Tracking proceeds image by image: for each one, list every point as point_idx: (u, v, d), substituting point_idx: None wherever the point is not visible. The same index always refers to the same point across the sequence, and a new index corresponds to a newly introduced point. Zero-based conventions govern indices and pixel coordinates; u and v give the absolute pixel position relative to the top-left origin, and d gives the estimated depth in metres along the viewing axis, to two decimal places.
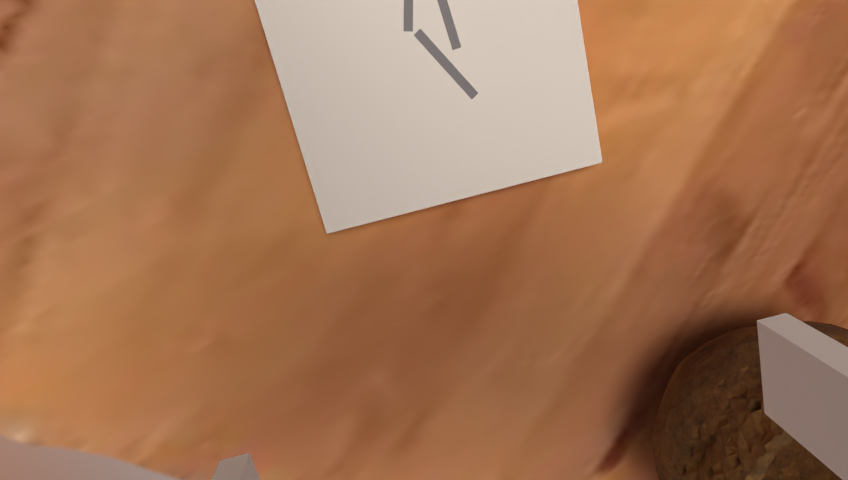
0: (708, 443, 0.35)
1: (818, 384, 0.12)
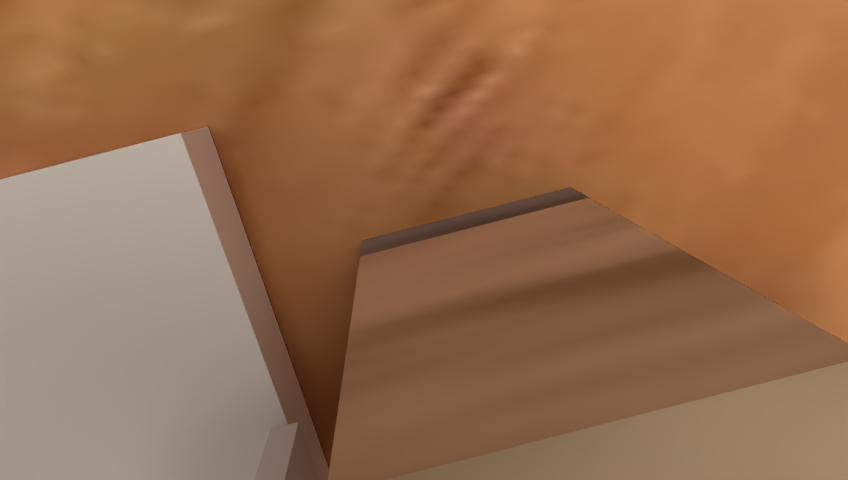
0: None
1: None
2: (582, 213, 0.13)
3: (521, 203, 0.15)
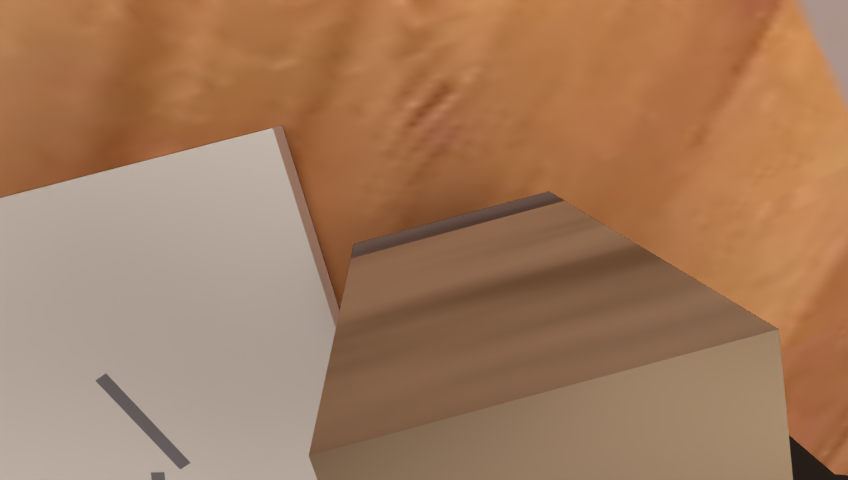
0: None
1: None
2: (556, 214, 0.14)
3: (502, 207, 0.16)
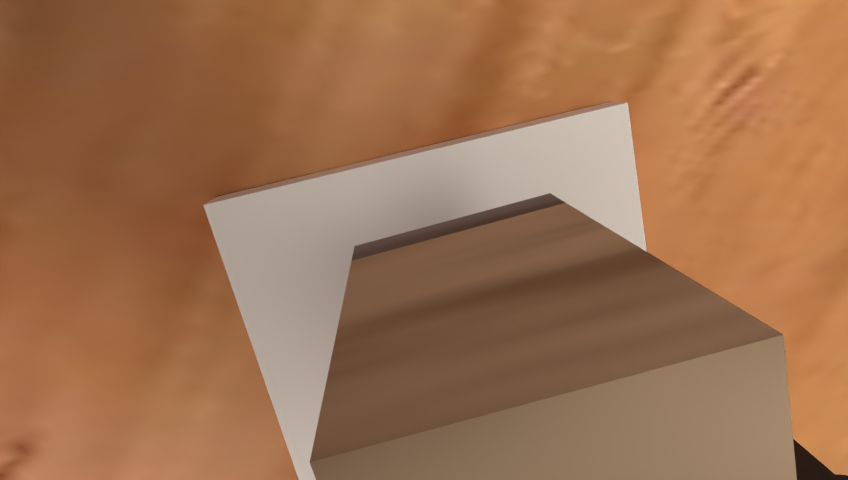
0: None
1: None
2: (557, 216, 0.14)
3: (503, 209, 0.16)
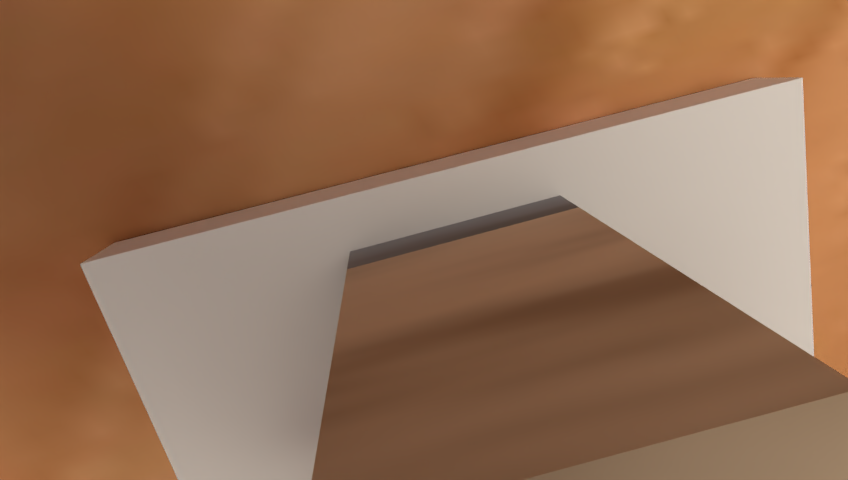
0: None
1: None
2: (571, 223, 0.13)
3: (510, 212, 0.15)
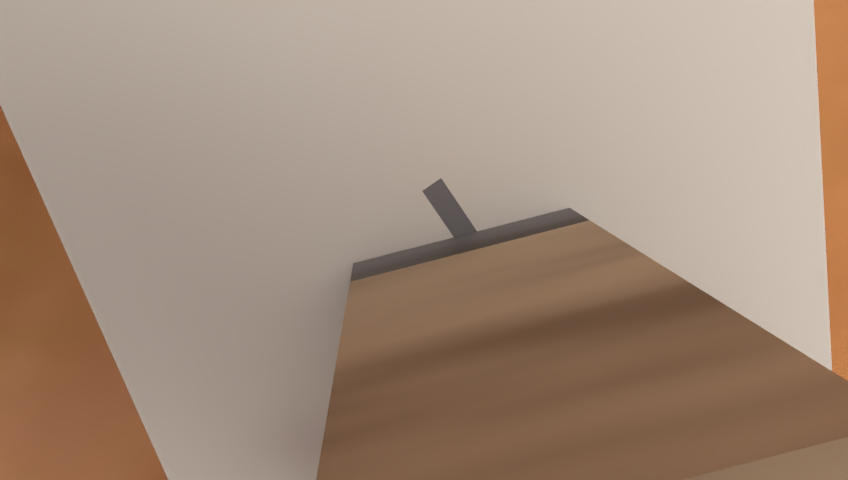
0: None
1: None
2: (582, 237, 0.12)
3: (519, 225, 0.14)
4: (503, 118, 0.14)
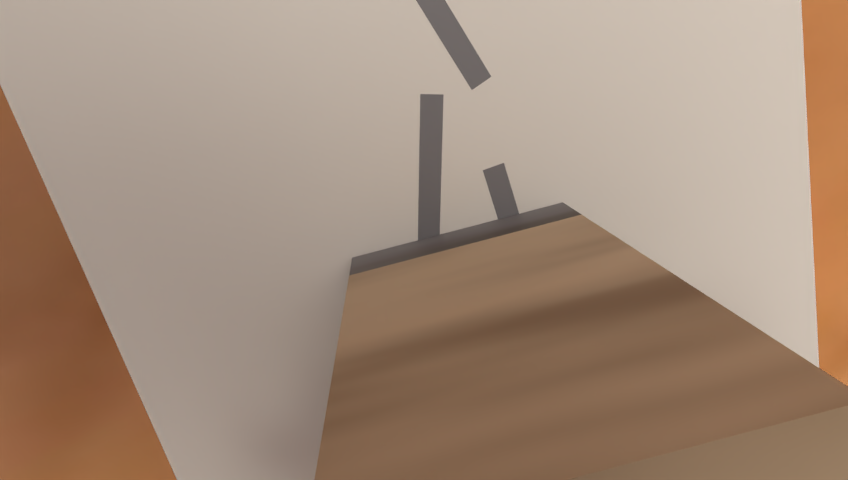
0: None
1: None
2: (574, 231, 0.13)
3: (513, 219, 0.15)
4: None
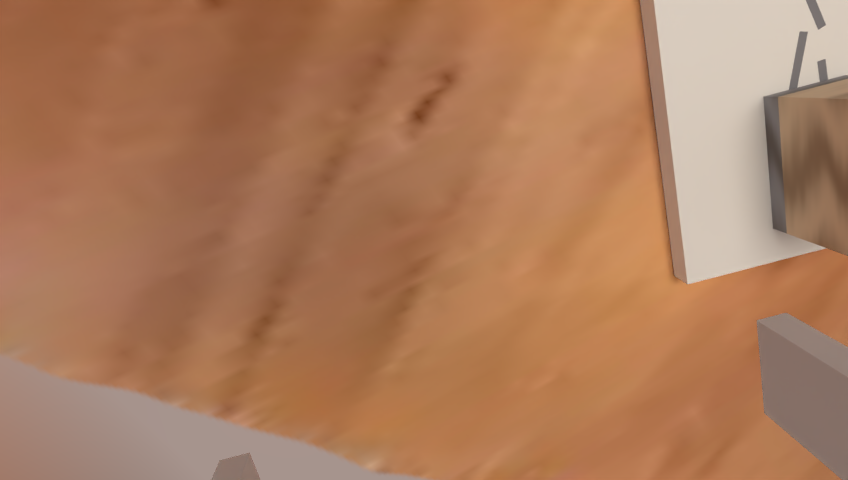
0: None
1: (818, 383, 0.12)
2: None
3: (829, 80, 0.39)
4: None
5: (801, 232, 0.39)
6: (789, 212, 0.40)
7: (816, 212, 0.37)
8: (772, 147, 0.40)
